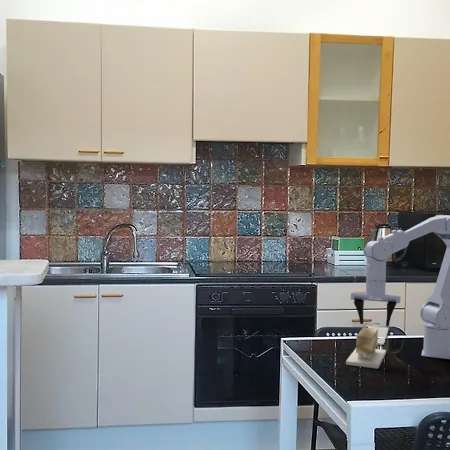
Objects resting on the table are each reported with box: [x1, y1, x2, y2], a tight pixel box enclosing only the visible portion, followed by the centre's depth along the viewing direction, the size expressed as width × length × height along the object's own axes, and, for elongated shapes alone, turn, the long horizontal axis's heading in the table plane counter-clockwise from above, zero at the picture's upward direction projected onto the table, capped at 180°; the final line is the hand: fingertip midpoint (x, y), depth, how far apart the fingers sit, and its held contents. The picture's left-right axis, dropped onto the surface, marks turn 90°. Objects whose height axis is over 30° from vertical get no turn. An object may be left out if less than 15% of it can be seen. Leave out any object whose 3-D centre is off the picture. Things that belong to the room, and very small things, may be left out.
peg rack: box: [345, 347, 387, 369], centre depth 170 cm, size 9×20×3 cm, turn 158°
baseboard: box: [362, 322, 390, 346], centre depth 203 cm, size 30×3×10 cm
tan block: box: [355, 326, 378, 355], centre depth 170 cm, size 4×14×5 cm, turn 158°
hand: (374, 324), depth 173 cm, fingers open, 7 cm apart
